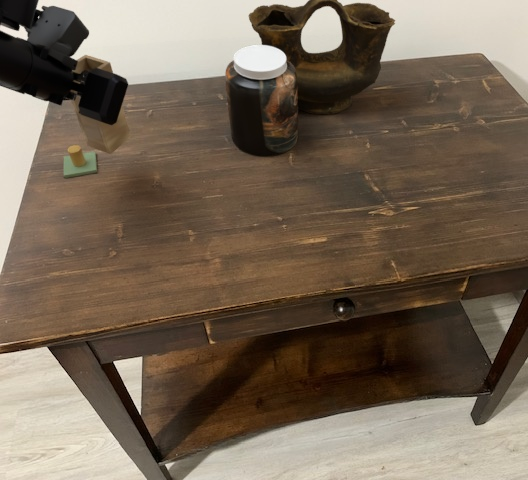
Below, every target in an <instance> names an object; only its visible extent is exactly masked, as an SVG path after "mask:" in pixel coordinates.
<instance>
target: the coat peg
mask: <svg viewBox="0 0 528 480" xmlns="http://www.w3.org/2000/svg"><path fill="white" fill-rule="evenodd" d="M67 153H68V155H63V177H64V179H68V178H73V177H79V176H85V175H91V174H97V173H98V164H97V163H98V162H97V153H96V151H95V150H94V151H88V152H83V150H82V147H81V146H80V145H77V144H73V145H71V146H68V148H67Z"/></svg>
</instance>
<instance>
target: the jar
mask: <svg viewBox="0 0 528 480" xmlns="http://www.w3.org/2000/svg"><path fill="white" fill-rule="evenodd" d="M224 73H225V74H224V80H225V90H226V91H225V92H226V93H225V94H226V102H227V110H228V119H229V127H230V134H231V140H232V142H233V143H234V145H235V146H236V147H237V148H238V149H239V150H241V151H242V152H245V153H247V154H249V155H253V156H258V157H273V156H278V155H282V154H285V153H286V152H288V151H289V150H291V149H292V148H294V146H296V144H297V141H298V137H299V109H298V88H297V74H296V70H295V68H294V66H293V65H292V64H291V63H290V62H289V61H288V60H286V55H285V54H284V52H282V51H281V50H279V49H278V48H275V47H272V46H267V45H262V44H253V45H248V46H244V47H242V48H240V49H238V50H236V52H235V53H234V55H233V60H231V61H230V62H229V63H228V64H227V66H226V68H225V72H224Z"/></svg>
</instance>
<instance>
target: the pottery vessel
mask: <svg viewBox="0 0 528 480" xmlns="http://www.w3.org/2000/svg"><path fill="white" fill-rule="evenodd" d="M325 7H330V8H332V9H333V10H334V11H335V12H336V14H337V16H338V17H339V22H340V27H341V36H342V37H341V38H342V39H341V43H340V44H339V45H338V46H337V47H336V48H334V49H332V50H328V51H322V52H308V51H307V50H305V48H304V47H303V44H302V33H303V29H304V28H305V26H306V25H307V23H308V21H309V20H310V18H311V17H312V16H313V15H314V13H315V12H316V11H318V10H320V9H322V8H325ZM248 20H249V22H250V24H251V27H252V29H253V30H254V32H256V33H257V34H258V36H259V38H260V41H261V45H267V46H272V47H275V48H278V49H279V50H281V51H282V52H284V54H285V55H286V60H288V61H289V62H290V63H291V64H292V65H293V66H294V68H295V70H296V74H297V88H298V110H300V111H303V112H305V113H309V114H314V115H331V114H333V115H334V114H337V113H341V112H342V111H344V110H347V109H349V108H350V107H351V106H352V104H353V98H352V97H353V96H356V95H358V94H359V93H361V92H363V91H364V90H366V89H367V88H369V87H370V86H372V85H374V84H375V83H376V81H377V79H378V77H379V75H380V71H381V69H382V65H381V60H382V57H383V53H384V50H385V47H386V45H387V41H388V40H387V39H388V37H389V34H390V31H391V28H392V27H393V26H394V25H395V24H396V20H395V19H394V18H392V17H390V12H389V11H385V10H384V9H383V8H380V7H378V6H377V5H375V4H372V3H369V2H368V3H367V2H354V3H353V2H352V3H349V4H345V5H343V4H342V2H339V0H308V1H306V3H304V4H303V5H299V6H293V7H292V6H289V5H284V4H278V3H276V4H275V3H273V4H271V5H260V6H257V7H256V8H255V9H253V12H250V13H249V14H248Z"/></svg>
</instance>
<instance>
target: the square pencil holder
mask: <svg viewBox="0 0 528 480" xmlns="http://www.w3.org/2000/svg"><path fill="white" fill-rule="evenodd" d="M76 60H77V61H78V63H77V66H76V70H72V71H73V72H76V73H79V74H80V73H81V72H82V71H83V70H87V71H91V70H92V69H94V68H99V69H102V70H105V71H108V72H111V73H114V72H113V68H112V65H111V62H110V61H107V60H104V59H101V58H97V57H95V56H92V55H88V54H83V56H81V57H79V58H78V59H76ZM73 82H75V83H78V84H80V82H77V81H74V80H73ZM82 82H84V81H82ZM70 92H73V93H76V94H77V92H76V91H73V90H71V91H70ZM80 98H81V97H79V96H76V99H75V101H72V100H70V101H71V104H72V107H73V110H74V113H75V115H76V118H77V120H78V124H79V126H80V129H81V132H82V134H83V137H84V140H85V142H86V143H85V144H86V145H87V146H88V147H90V148H93V149H95V150H98V151H100V152H103V153H106V154H109V155H111V154H112V153H114V152H115V151H117V150H118V149H119V148H120V147H121V146H123V145H124V144H125V143H126V142H128V141H129V140H130V139H131V138H132V134H131V130H130V127H129V123H128V120H127V117H126V114H125V110H124V106H123V105H122V107H121V110H120V113H119V116H118V119H117V123H115V124H113V125H109V124H106V123H103V122H100V121H97V120H94V119H92V118H89V117H86V116H83V115H81V114H80V113H79V107H78V105H79V102H80Z"/></svg>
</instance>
